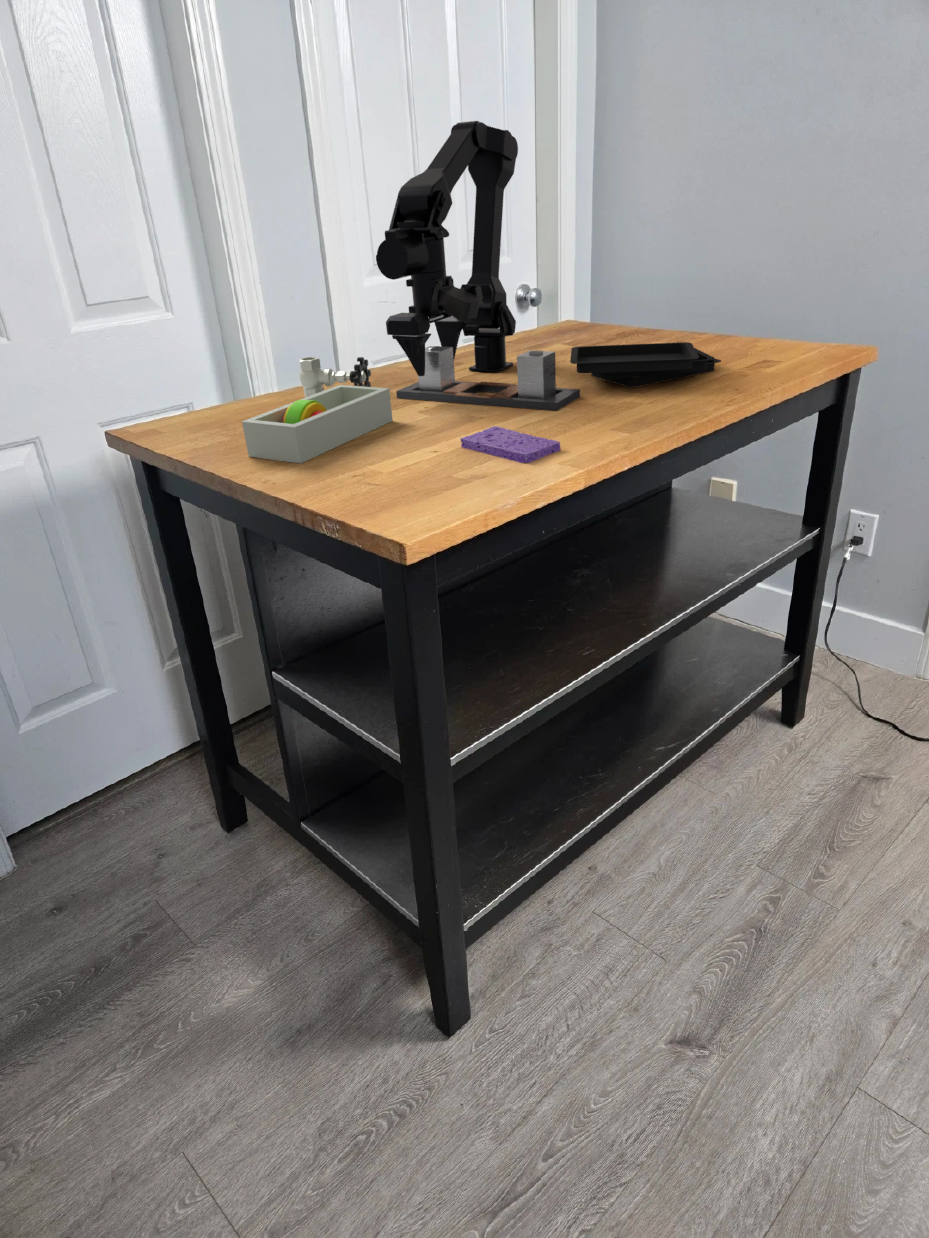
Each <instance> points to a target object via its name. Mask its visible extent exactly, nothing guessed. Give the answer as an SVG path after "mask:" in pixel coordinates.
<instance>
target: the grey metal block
mask: <svg viewBox="0 0 929 1238" xmlns="http://www.w3.org/2000/svg"><path fill="white" fill-rule="evenodd" d="M516 365H517V366H516V367H517V368H516V369H517V385H518V398H525V399H538V400H548V399H550V398H551V397H553V396H555V395H556V388H557V384H556V382H557V381H556V378H557V377H556V376H557V374H556V372H557V371H556V351H550V350H540V349H539V350H530V349H529V350H528V351H526V352H523V353H521V354H518V355H516Z"/></svg>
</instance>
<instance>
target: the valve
mask: <svg viewBox="0 0 929 1238" xmlns="http://www.w3.org/2000/svg"><path fill="white" fill-rule="evenodd" d="M298 361H299V368H300V370H301V371H300V373H299V381H300V383H301V385H302V387H303V394H304V398H306V397H308V396H311V395H314V394H316V393H319V392H322V391H324V390H325V388H324V386H323V385H325V386H326V387H334V384H336V383H337V382H338V383H339V384H345V383H347V382H348V381H349V382H350V384H353V386H363V387H372V383H371V382H370V377H371V376H372V372H371V371H372V370H370V369H369V368H368V366H369V360H368V359H365V358H364V357H363V356H358V357H356V362H358V364H355V363H354V365H353V370H350V372H349V373H347V372H346V371H337V373H336V372H335V371H334V370H333V369H332V368H324V370H323V369H322V367H321V360H320V357H318V356H305V357H302V358H299V359H298Z"/></svg>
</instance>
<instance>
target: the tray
mask: <svg viewBox="0 0 929 1238" xmlns="http://www.w3.org/2000/svg"><path fill="white" fill-rule="evenodd" d="M570 350H571V352H570V360H569V362H570V364H573V365H574V364H575V365H576V373H577V374H591V377H593V378H597V379H599V380H603V381H607V382H611V383H614V384H618V385H621V386H625V387H629V388H638V387H643V386H648V385H653V384H658V383H663V382H668V381H672V380H678V379H682V378H689V377H693V376H697V375H702V374H708V373H712V372H714V371H715V365H716V364H718V363H721V362H722V360H721V359H718V358H715V357H714V356H712V355H710V354H708V353H706V352H704V351H702V350H700V349H697V348H695V347H694V345H693V343H691V342H687V341H686V342H684V341H682V342H681V341H680V342H679V341H678V342H677V341H676V342H659V343H658V342H657V343H656V342H655V343H634V344H633V343H632V344H611V345H609V344H608V345H587V346H586V345H584V346H583V345H582V346H573V347H572V348H571V349H570Z"/></svg>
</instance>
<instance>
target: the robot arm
mask: <svg viewBox="0 0 929 1238" xmlns="http://www.w3.org/2000/svg"><path fill="white" fill-rule="evenodd" d="M450 130H451V131H450V135H449V136H448V137H447V139H446V141H445V142H444V143H443V145H442V146H441V147H440V149H439V150H438V152H437V154H436V155H435V156H434V158H433V159H432V161H431V162H430V164H429V165H428V166H427V168H426V169H425V170H424V171H423V172H421V173H419V174H417V175H415V176H413V177H411V178H410V179H408V180H407V181H406V182H405V183H404V184H403V185H401V187H400V189H399V191H398V192H397V193H398V194H397V198H396V200H395V205H394V208H393V213H392V216H391V220H390V224H389V228H388V229H387V230H385V231H384V240H383V241H382V242H381V243H380V244H379V245H378V248H377V251H376V254H375V261H376V265H377V268H378V270H379V272H381V274H382V276H384V277H385V278H387V279H389V280H395V281H396V280H398V279H404V278H407V277H410V278H407V279H405V285H406V287H411V292H412V303H413V305H411V306H410V305H409V306H408V312H400V313H397V314H391V315H390V316H389V317H388V318H387V319H386V321H385V327H386V335H387V336H391V337H392V338H391V339H393V340H396V342H397V343H398V345H399V346H400V348H401V349H402V351H403V352H404V354H405V355H406V357H407V358H408V361H409V363H410V364H411V365H412V366H411V367H413V369H414V370H415V372H416V374H417V377H418V376H424V375H425V348H426V343H427V341H428V340H429V339H430V337H431V336H432V333H429V330H430V328H431V324H433V323H434V326H435V329H436V333H437V336H438V340H439V343H440V347H453V359H454V360H455V359H456V358H455V357H456V353H457V349H458V345H459V340H460V336H461V333H462V332H463V335H464V337H470V336H471V337H473V336H474V337H473V343H474V347H473V349H474V365H471V366H470V367H468V371H476V372H489V373H490V372H492V373H497V372H498V373H499V372H501V371H503V370H505V369H508V368H509V367H513V366H514V362H512V361H511V362H510V361H507V355H506V354H507V353H506V350H507V349H506V337H510V336H513V335H514V334H515V332H516V324H517V321H516V319H515V316H514V315H513V314H512V312H511V310H510V308H509V306H508V304H507V292H506V290H505V288H504V286H503V284H502V281H501V280H500V260H501V259H500V258H501V245H502V230H503V229H502V227H503V226H502V225H503V210H504V208H503V207H504V193H505V189H506V187H507V185H508V184H509V182H510V180H511V179H512V177H513V175H514V174H515V168H516V161H517V158H518V153H519V145H518V141H517V139H516V137H515V136H513V135H512V133H511V131H509V130H508V129H500V128H497V127H493V126H490V125H487V124H486V123H484V122H481V121H479V120H472V121H462V122H461V121H460V122H457V123H456V124H454V125H452V127H451V129H450ZM466 169H467V171H468V173H469V174H470V177H471V179H472V181H473V183H474V185H475V205H474V207H475V208H474V223H473V225H474V226H473V227H474V228H473V245H472V265H471V266H472V267H471V275H470V278H469V279H468V281H467V283H466V284H464V283H463V284H461V286H460V288H459V287H456V286H455V285H454V278H453V277H452V275H447V267H446V253H445V239H444V238H448V237H450V233H449V231H448V229H447V228H445V226H443V225H442V224H443V223H444V221H446V219H447V217H448V214H449V212H450V209H451V208H452V205H453V199H452V191H453V189H454V187H455V186H456V185H457V183H458V181H459V180H460V178H461V177H462V175H463V174H464V172H465V171H466Z"/></svg>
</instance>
